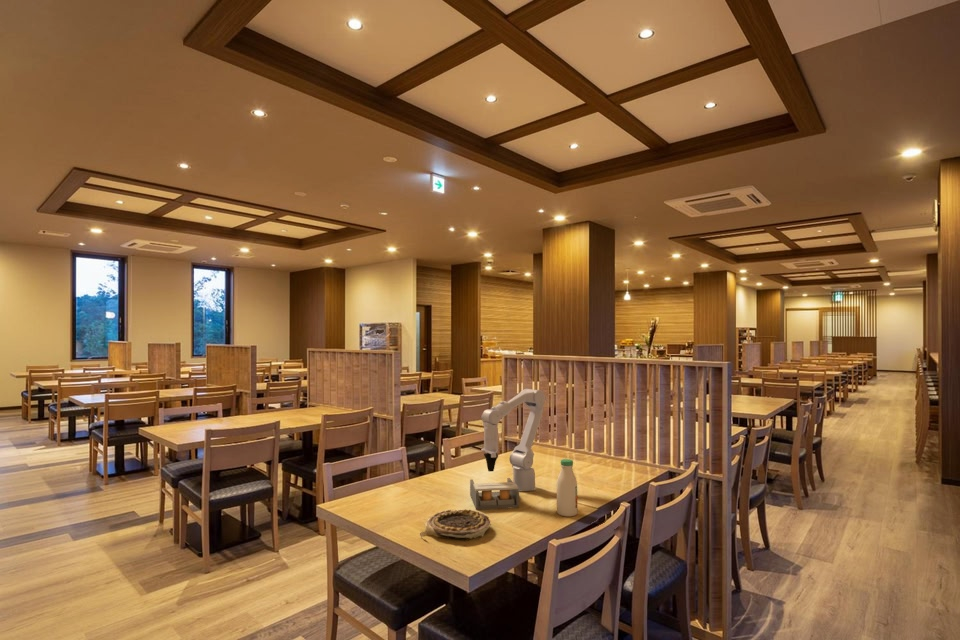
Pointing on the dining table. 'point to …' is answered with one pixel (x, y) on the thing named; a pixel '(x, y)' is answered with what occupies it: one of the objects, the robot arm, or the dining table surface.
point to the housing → (493, 498)
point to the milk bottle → (566, 490)
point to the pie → (457, 525)
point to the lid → (495, 486)
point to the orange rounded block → (504, 494)
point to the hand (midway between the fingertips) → (490, 471)
